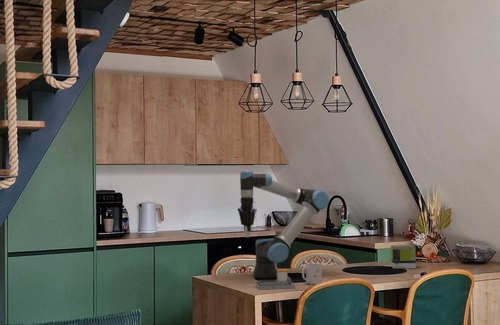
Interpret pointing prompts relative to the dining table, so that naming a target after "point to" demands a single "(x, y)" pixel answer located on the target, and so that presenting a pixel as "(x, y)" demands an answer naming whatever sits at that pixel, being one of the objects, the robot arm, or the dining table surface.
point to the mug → (312, 273)
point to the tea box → (403, 256)
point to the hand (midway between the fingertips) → (247, 236)
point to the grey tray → (275, 284)
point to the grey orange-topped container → (281, 275)
